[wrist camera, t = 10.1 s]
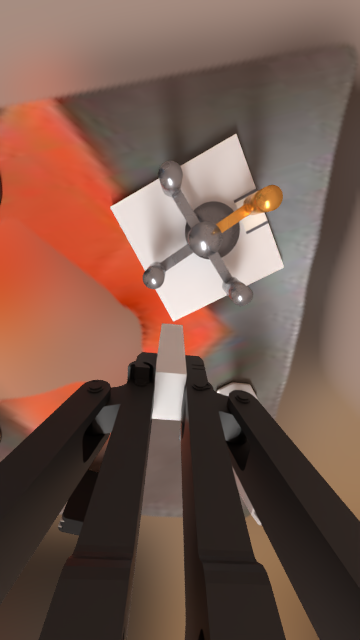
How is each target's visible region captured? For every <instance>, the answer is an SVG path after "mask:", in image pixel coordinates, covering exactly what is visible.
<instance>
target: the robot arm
mask: <svg viewBox="0 0 360 640" xmlns="http://www.w3.org/2000/svg"><path fill="white" fill-rule="evenodd" d="M1 195H2V190H1V181H0V203H1ZM181 415H182V421H181ZM152 419H166V420H180V421H181V428H180V436H179V440H181V463H182V499H183V535H184V571H185V607H186V626H185V640H286V638H285V635H284V631H283V627H282V624H281V620H280V617H279V613H278V609H277V605H276V602H275V598H274V594H273V591H272V587H271V584H270V581H269V578H268V575H267V572H266V570H265V569H264V567H263V565H262V564H260V563H258V562H257V561H256V559H255V557H254V554H253V550H252V546H251V542H250V537H249V534H248V529H247V525H246V521H245V517H244V513H243V509H242V505H241V501H240V497H239V493H238V488H237V484H236V480H235V476H234V472H233V469H234V471H235V473H236V475H237V477H238V479H239V481H240V483H241V485H242V487H243V489H244V491H245V493H246V495H247V497H248V499H249V501H250V502H251V504H252V506H253V508H254V510H255V512H256V514H257V516H258V518H259V520H260V522H261V524H262V526H263V528H264V530H265V532H266V534H267V536H268V538H269V540H270V542H271V544H272V546H273V548H274V550H275V552H276V554H277V556H278V558H279V560H280V562H281V564H282V566H283V567H284V570H285V572H286V574H287V576H288V578H289V580H290V582H291V584H292V586H293V588H294V590H295V592H296V594H297V596H298V598H299V600H300V602H301V603H302V606H303V608H304V610H305V611H306V613H307V615H308V617H309V619H310V621H311V623H312V625H313V627H314V629H315V631H316V633H317V635H318V637H319V639H320V640H360V521H359V520H358V519H357V518H356V517H355V515H354V514H353V513H352V512H351V511H350V509H349V508H348V507H347V506H346V505H345V503H344V502H343V501H342V500H341V499H340V498H339V496H338V495H337V494H336V493H335V492H334V490H333V489H332V488H331V487H330V486H329V484H328V483H327V482H326V481H325V480H324V478H323V477H322V476H321V475H320V474H319V473H318V471H317V470H316V469H315V468H314V467H313V465H312V464H311V463H310V462H309V461H308V460H307V458H306V457H305V456H304V455H303V454H302V452H301V451H300V450H299V449H298V448H297V446H296V445H295V444H294V443H293V442H292V440H291V439H290V438H289V437H288V436H287V435H286V433H285V432H284V431H283V430H282V429H281V427H280V426H279V425H278V424H277V423H276V421H275V420H274V419H273V418H272V417H271V416H270V414H269V413H268V412H267V411H266V410H265V408H264V407H263V406H262V405H261V404H260V402H259V401H258V400H257V399H256V398H255V397H254V396H253V395H252V394H250V393H248V392H246V391H243V390H233V391H231V392H230V393H229V396H226V395H223V394H220V393H217V392H215V391H214V390H213V387H212V385H211V384H210V383H209V382H208V380H207V376H206V371H205V367H204V362H203V360H202V359H201V358H200V357H199V356H188V355H185V348H184V337H183V325H174V324H163V323H162V326H161V334H160V341H159V348H158V354H157V353H145V352H142V353H141V354H139V355H138V356H137V360H136V361H134V362H132V363H130V364H129V366H128V381H127V384H125V385H122V386H119V387H113V388H111V387H110V384H109V383H108V382H106V381H103V380H92V381H89V382H86V383H85V384H83V385H82V386H81V387H80V388H79V389H78V390H77V391H76V392H74V393H73V394H72V395H71V396H70V397H69V398H68V399H67V400H66V401H65V402H64V403H63V404H62V405H61V406H60V407H59V408H58V409H56V410H55V411H54V412H53V413H52V414H51V415H50V416H49V417H48V418H47V419H46V420H45V421H44V422H43V423H42V424H41V425H40V426H38V427H37V428H36V429H35V430H34V431H33V432H32V433H31V434H30V435H29V436H28V437H27V438H26V439H25V440H24V441H23V442H22V443H20V444H19V445H18V446H17V447H16V448H15V449H14V450H13V451H12V452H11V453H10V454H9V455H8V456H7V457H6V458H5V459H4V460H2V461H1V462H0V604H1V603H2V601H3V600H4V598H5V597H6V595H7V594H8V592H9V590H10V589H11V587H12V586H13V584H14V583H15V581H16V580H17V578H18V577H19V575H20V573H21V572H22V570H23V569H24V567H25V566H26V564H27V562H28V561H29V560H30V558H31V556H32V555H33V553H34V552H35V550H36V549H37V547H38V546H39V544H40V542H41V541H42V539H43V538H44V536H45V535H46V533H47V532H48V530H49V529H50V527H51V525H52V524H53V522H54V520H55V519H56V518H57V516H58V515H59V513H60V512H61V510H62V508H63V507H64V505H65V504H66V502H67V501H68V499H69V498H70V496H71V495H72V493H73V491H74V490H75V488H76V487H77V485H78V484H79V482H80V481H81V479H82V477H83V476H84V474H85V473H86V471H87V470H88V468H89V467H90V465H91V464H92V462H93V460H94V459H95V457H96V456H97V454H98V453H99V451H100V450H101V448H102V447H103V445H104V443H105V442H106V440H107V439H108V437H109V435H110V433H111V435H110V439H109V442H108V445H107V448H106V451H105V455H104V458H103V461H102V464H101V467H100V471H99V474H98V477H97V480H96V483H95V487H94V490H93V493H92V496H91V500H90V503H89V506H88V509H87V512H86V516H85V519H84V522H83V525H82V528H81V532H80V535H79V538H78V541H77V544H76V547H75V550H74V552H73V554H72V556H70V557H69V558H68V559H67V561H66V563H65V565H64V567H63V569H62V572H61V575H60V577H59V580H58V583H57V586H56V590H55V592H54V595H53V598H52V601H51V604H50V607H49V610H48V613H47V617H46V619H45V622H44V626H43V628H42V632H41V635H40V638H39V640H127V633H128V623H129V613H130V605H131V596H132V588H133V578H134V571H135V562H136V553H137V545H138V536H139V528H140V519H141V510H142V502H143V493H144V485H145V476H146V467H147V459H148V450H149V441H150V433H151V423H152ZM232 467H233V468H232Z"/></svg>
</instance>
